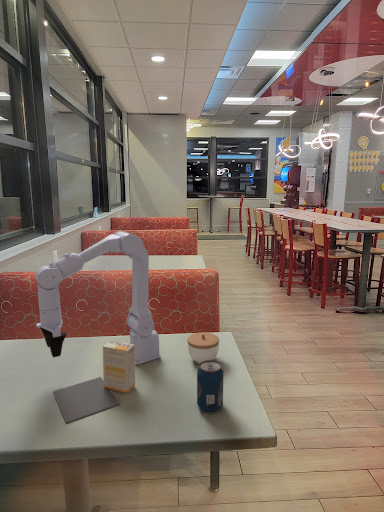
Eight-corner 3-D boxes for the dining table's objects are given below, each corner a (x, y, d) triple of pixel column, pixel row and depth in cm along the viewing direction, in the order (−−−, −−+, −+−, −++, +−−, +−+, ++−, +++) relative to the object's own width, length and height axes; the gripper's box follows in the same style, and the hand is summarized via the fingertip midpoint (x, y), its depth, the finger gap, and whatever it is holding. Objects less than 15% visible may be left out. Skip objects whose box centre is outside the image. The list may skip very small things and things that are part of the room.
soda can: (197, 398, 95) (197, 358, 93) (222, 399, 95) (222, 359, 93) (196, 414, 88) (196, 372, 86) (223, 415, 88) (224, 372, 86)
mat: (100, 377, 106) (100, 376, 106) (119, 404, 93) (119, 403, 93) (52, 392, 98) (52, 391, 98) (66, 423, 85) (66, 422, 85)
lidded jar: (185, 366, 112) (184, 339, 111) (190, 351, 123) (190, 326, 121) (217, 369, 111) (217, 342, 109) (220, 353, 121) (220, 328, 119)
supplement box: (135, 385, 102) (136, 344, 99) (127, 393, 97) (127, 350, 95) (111, 379, 104) (111, 339, 102) (102, 387, 100) (102, 345, 98)
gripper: (31, 303, 103) (35, 345, 105) (39, 318, 91) (43, 365, 94) (55, 299, 107) (59, 339, 109) (66, 312, 95) (70, 358, 97)
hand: (53, 351), depth 102 cm, fingers open, 7 cm apart
